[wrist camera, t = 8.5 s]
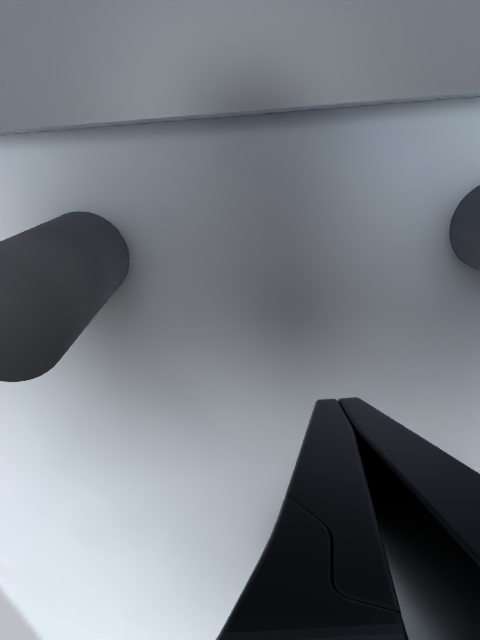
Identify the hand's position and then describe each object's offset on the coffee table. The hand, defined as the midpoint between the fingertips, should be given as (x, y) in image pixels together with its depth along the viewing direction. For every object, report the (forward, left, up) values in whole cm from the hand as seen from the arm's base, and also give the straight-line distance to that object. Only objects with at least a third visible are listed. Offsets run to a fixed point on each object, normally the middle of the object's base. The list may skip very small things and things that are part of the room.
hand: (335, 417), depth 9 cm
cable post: (+2, +7, -7) cm, 10 cm away
